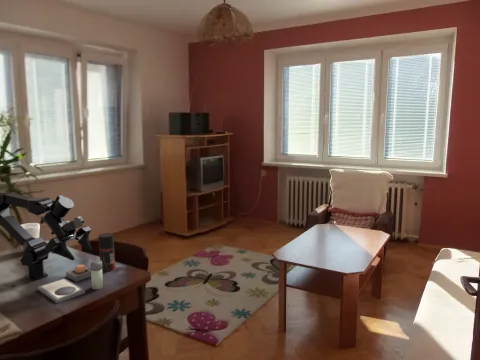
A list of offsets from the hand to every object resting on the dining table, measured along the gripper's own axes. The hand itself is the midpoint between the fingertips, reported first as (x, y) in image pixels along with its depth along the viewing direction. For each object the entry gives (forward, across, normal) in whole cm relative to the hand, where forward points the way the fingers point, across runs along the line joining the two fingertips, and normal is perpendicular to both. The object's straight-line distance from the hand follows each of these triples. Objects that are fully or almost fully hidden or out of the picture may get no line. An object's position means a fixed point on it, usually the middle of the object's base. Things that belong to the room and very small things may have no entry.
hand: (82, 255), depth 143 cm
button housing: (+3, +6, +14) cm, 16 cm away
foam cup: (-27, +20, +44) cm, 56 cm away
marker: (+13, 0, +4) cm, 13 cm away
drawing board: (+5, -7, +12) cm, 15 cm away
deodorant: (+7, +16, +10) cm, 20 cm away
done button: (+2, +6, +13) cm, 15 cm away
